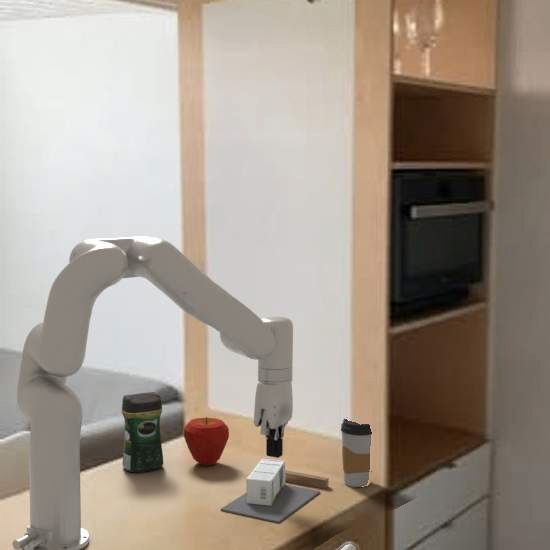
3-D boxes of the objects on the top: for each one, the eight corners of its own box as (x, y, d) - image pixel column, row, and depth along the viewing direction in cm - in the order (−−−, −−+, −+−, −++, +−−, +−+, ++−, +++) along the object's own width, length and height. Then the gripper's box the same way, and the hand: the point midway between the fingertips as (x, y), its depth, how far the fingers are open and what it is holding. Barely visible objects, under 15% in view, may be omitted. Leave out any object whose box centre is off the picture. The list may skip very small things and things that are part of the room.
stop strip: (325, 488, 202) (325, 480, 202) (271, 478, 208) (271, 470, 208) (328, 486, 203) (328, 478, 203) (274, 476, 210) (275, 468, 209)
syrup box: (271, 480, 189) (287, 459, 203) (245, 478, 190) (262, 457, 204) (271, 506, 190) (286, 483, 204) (245, 503, 191) (262, 481, 205)
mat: (278, 523, 182) (278, 521, 182) (220, 510, 188) (220, 508, 188) (319, 492, 199) (320, 491, 199) (265, 482, 206) (265, 480, 206)
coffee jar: (155, 460, 221) (155, 387, 218) (167, 469, 214) (166, 395, 212) (118, 465, 216) (117, 392, 214) (128, 475, 209) (127, 399, 207)
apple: (174, 464, 218) (174, 416, 216) (206, 454, 226) (206, 408, 224) (206, 474, 210) (206, 425, 209) (237, 463, 218) (237, 416, 217)
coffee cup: (382, 485, 204) (384, 422, 202) (353, 492, 200) (355, 427, 198) (361, 475, 211) (362, 414, 210) (332, 481, 207) (333, 418, 205)
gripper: (276, 365, 200) (275, 444, 202) (242, 378, 186) (242, 462, 189) (305, 369, 196) (304, 449, 198) (274, 383, 183) (273, 468, 185)
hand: (274, 455), depth 193 cm, fingers closed
